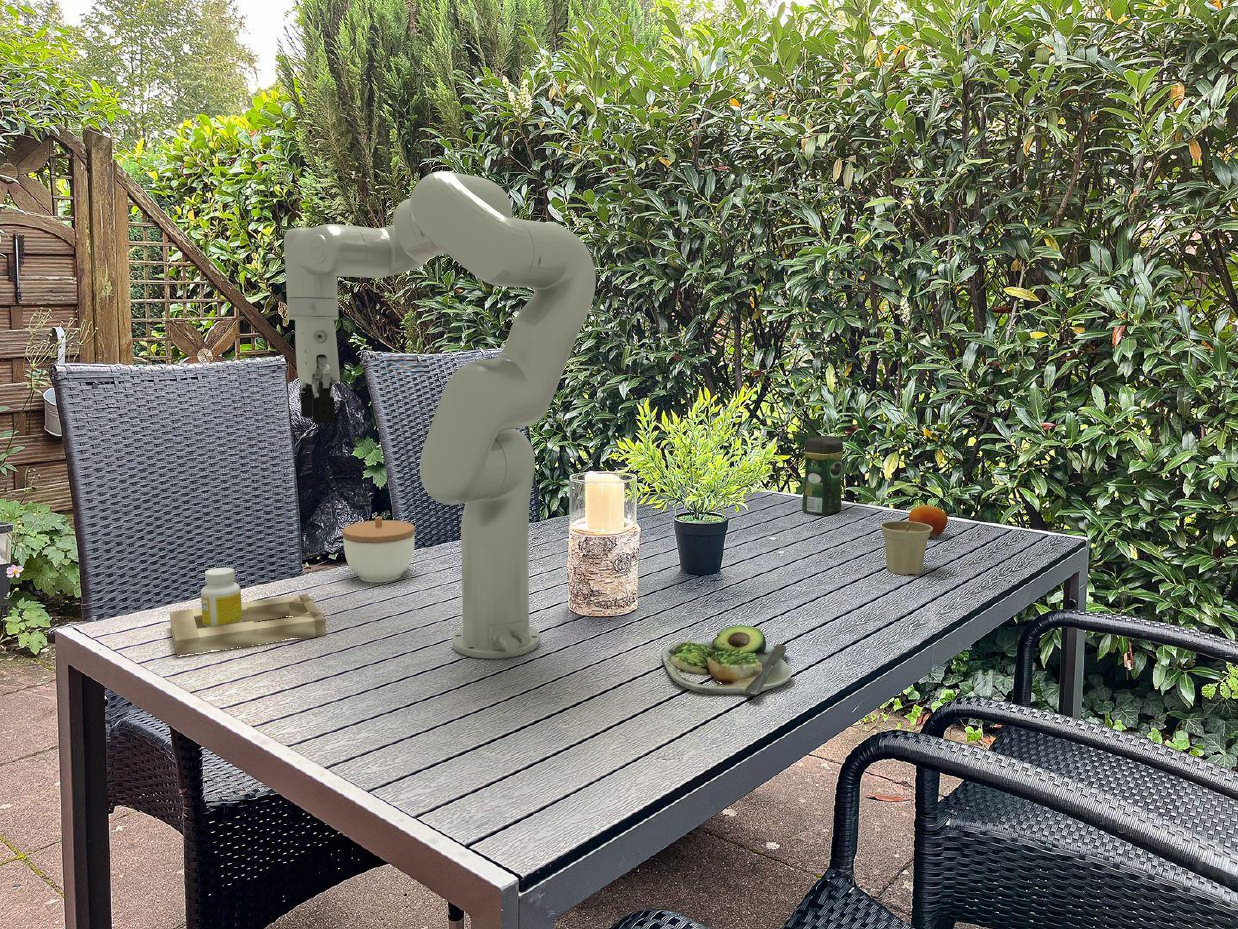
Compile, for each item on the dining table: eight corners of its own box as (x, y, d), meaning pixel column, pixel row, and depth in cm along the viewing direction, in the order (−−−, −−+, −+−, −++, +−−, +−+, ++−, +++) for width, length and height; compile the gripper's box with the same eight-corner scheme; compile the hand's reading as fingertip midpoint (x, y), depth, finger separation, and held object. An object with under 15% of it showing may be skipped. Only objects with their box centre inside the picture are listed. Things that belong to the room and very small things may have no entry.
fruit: (907, 534, 199) (909, 499, 202) (906, 545, 206) (908, 511, 209) (948, 537, 196) (949, 501, 199) (945, 548, 203) (947, 514, 206)
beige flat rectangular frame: (310, 608, 151) (309, 593, 151) (328, 635, 139) (327, 618, 138) (170, 627, 141) (169, 611, 141) (177, 658, 129) (175, 640, 129)
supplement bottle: (249, 630, 141) (246, 566, 139) (231, 642, 136) (228, 576, 134) (215, 628, 141) (211, 565, 140) (196, 640, 136) (191, 575, 134)
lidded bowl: (430, 574, 171) (429, 515, 170) (380, 591, 161) (378, 528, 159) (380, 564, 178) (378, 507, 176) (329, 580, 167) (326, 519, 165)
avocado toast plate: (817, 705, 116) (818, 670, 116) (674, 709, 115) (674, 673, 114) (779, 650, 135) (780, 619, 135) (656, 652, 134) (657, 621, 133)
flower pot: (878, 575, 173) (880, 530, 171) (877, 562, 182) (879, 519, 180) (931, 579, 170) (934, 533, 169) (927, 566, 179) (930, 522, 178)
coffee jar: (818, 506, 234) (821, 432, 231) (846, 511, 228) (849, 435, 225) (795, 512, 227) (798, 436, 224) (823, 517, 221) (827, 439, 218)
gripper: (350, 310, 140) (354, 424, 142) (326, 310, 155) (330, 413, 157) (297, 310, 136) (303, 427, 139) (278, 309, 151) (283, 415, 154)
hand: (317, 420), depth 148 cm, fingers open, 9 cm apart
